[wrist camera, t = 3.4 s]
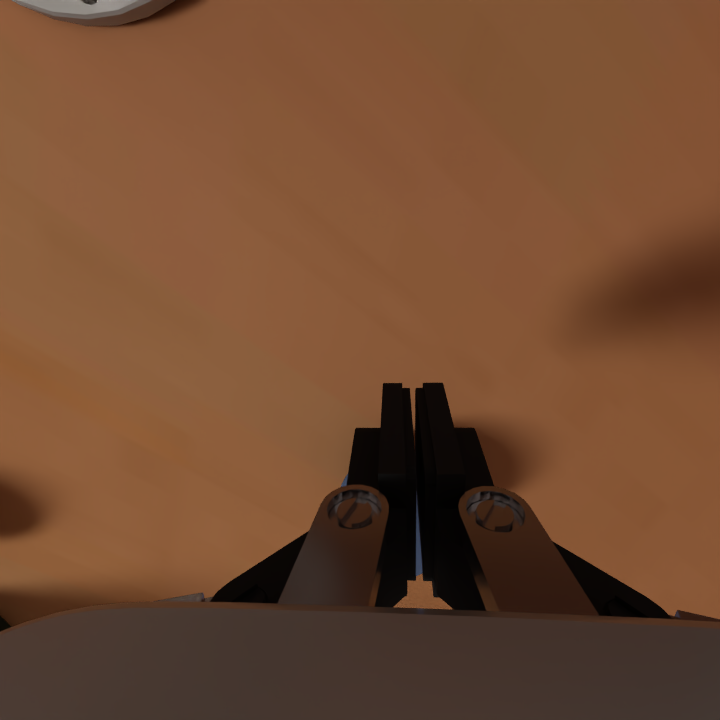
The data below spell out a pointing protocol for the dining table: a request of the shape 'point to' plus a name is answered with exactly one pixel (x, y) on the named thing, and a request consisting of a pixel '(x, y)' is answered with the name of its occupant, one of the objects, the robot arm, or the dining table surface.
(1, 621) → the wine bottle
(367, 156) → the dining table surface
